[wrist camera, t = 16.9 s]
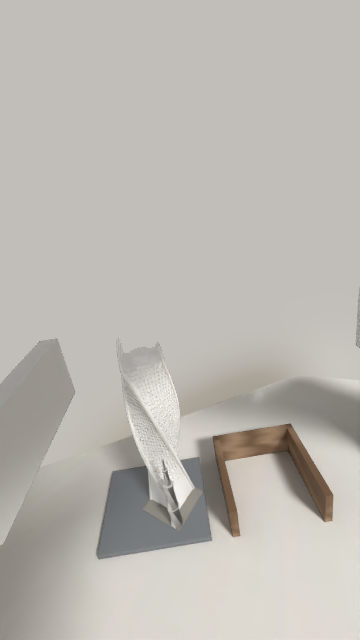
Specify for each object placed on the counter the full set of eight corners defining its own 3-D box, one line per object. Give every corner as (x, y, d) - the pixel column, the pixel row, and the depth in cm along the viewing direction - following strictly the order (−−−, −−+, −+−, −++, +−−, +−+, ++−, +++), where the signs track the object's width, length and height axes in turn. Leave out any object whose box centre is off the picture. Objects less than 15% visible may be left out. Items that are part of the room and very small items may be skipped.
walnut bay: (291, 445, 54) (290, 423, 52) (332, 520, 41) (333, 495, 39) (215, 457, 54) (212, 436, 52) (233, 537, 41) (229, 512, 39)
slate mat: (199, 460, 54) (199, 457, 54) (211, 540, 41) (211, 536, 41) (114, 474, 54) (113, 471, 54) (98, 559, 41) (97, 555, 41)
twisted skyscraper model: (136, 507, 47) (89, 352, 37) (165, 468, 53) (132, 326, 43) (179, 533, 42) (139, 363, 32) (206, 487, 48) (180, 332, 38)
